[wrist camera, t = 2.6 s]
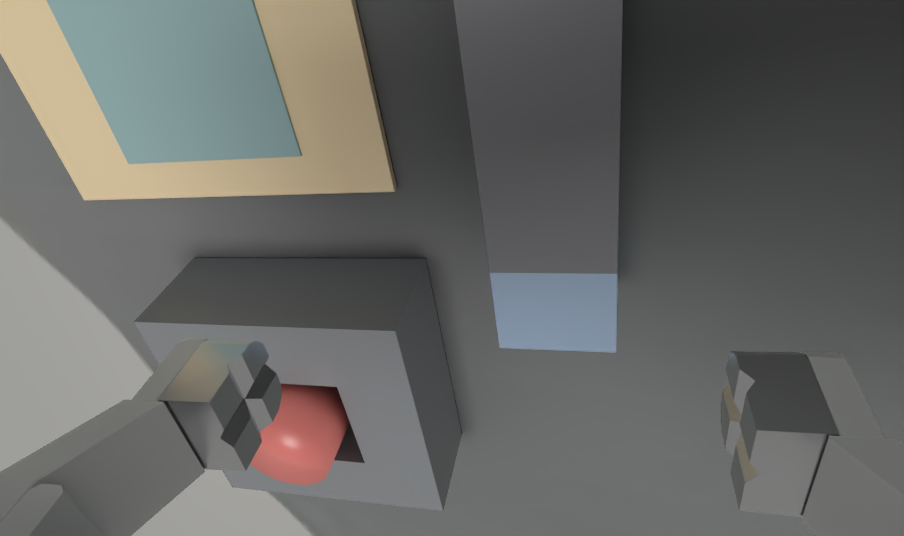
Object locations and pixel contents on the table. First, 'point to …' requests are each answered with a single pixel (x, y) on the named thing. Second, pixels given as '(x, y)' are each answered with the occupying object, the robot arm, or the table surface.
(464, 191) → the table surface
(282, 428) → the button
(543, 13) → the block
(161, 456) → the robot arm
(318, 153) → the drawing pad
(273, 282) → the button console
